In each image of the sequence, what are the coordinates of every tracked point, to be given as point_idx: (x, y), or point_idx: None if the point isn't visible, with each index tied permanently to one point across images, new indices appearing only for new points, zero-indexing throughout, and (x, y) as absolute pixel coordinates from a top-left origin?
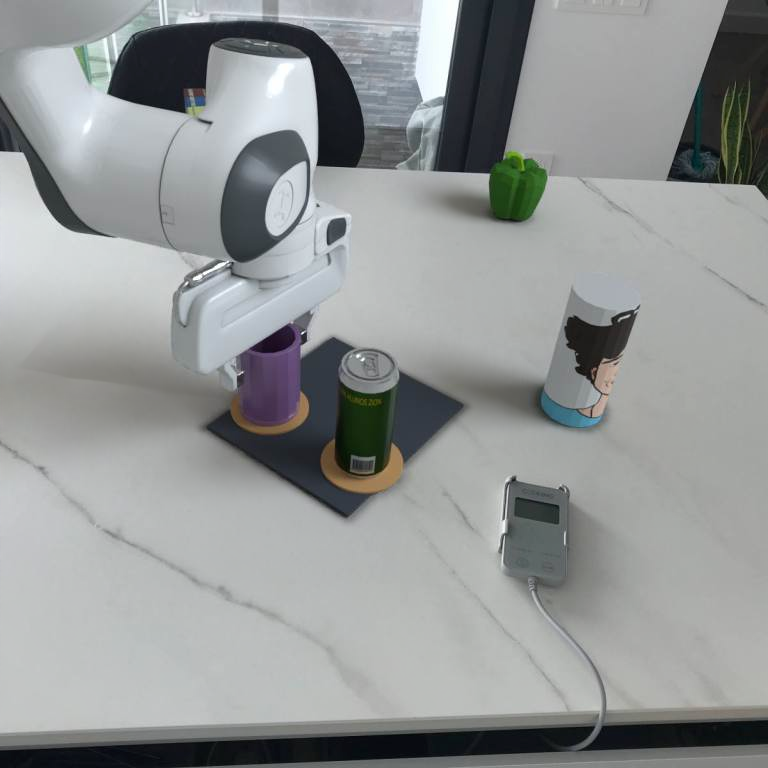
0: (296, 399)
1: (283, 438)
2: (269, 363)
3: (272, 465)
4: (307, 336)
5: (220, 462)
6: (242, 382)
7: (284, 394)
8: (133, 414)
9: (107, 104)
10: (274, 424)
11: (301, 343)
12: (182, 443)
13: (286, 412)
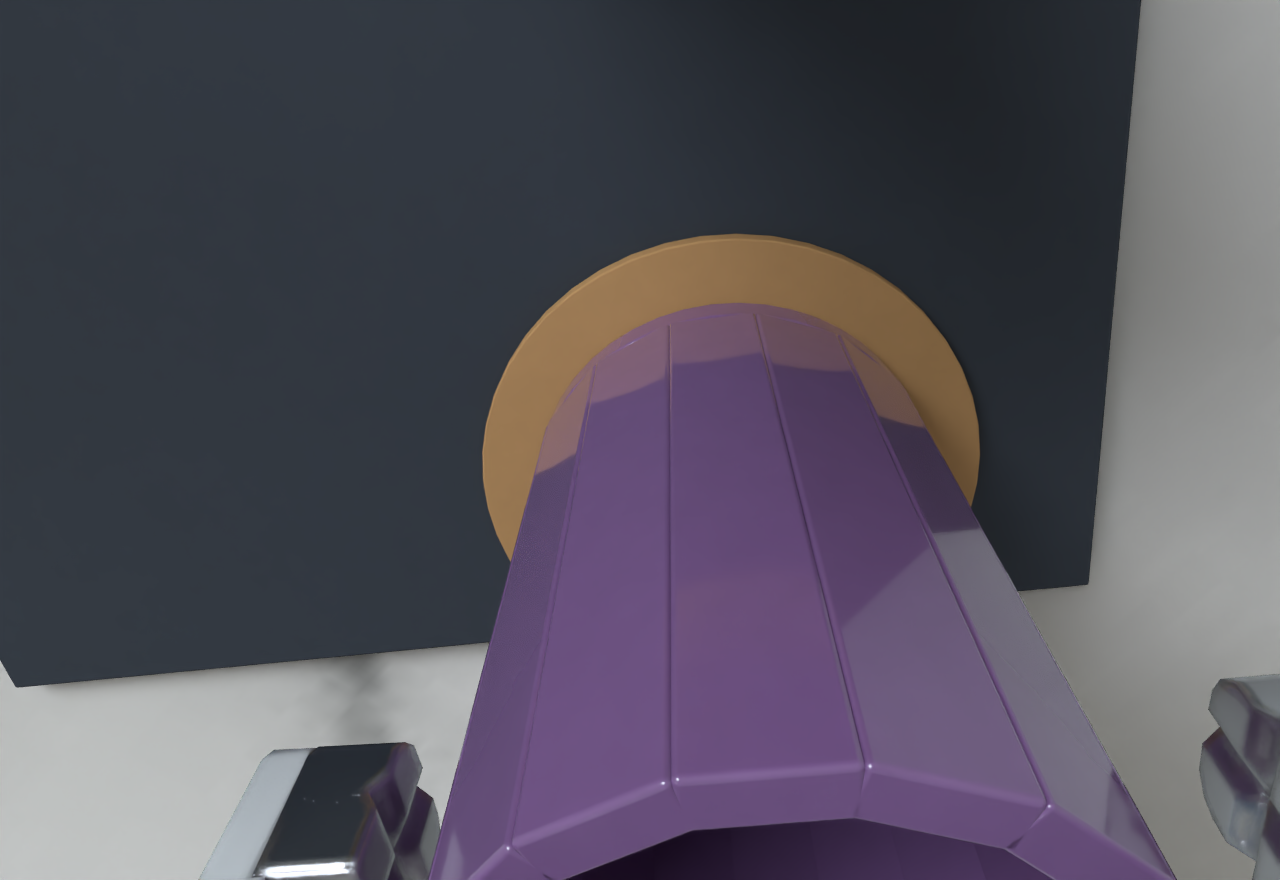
0: (664, 369)
1: (865, 213)
2: (1061, 743)
3: (1121, 53)
4: (280, 800)
5: (1260, 322)
6: (1276, 698)
7: (814, 419)
8: (1220, 832)
9: None
10: (844, 336)
11: (381, 762)
12: (1253, 565)
13: (772, 336)
